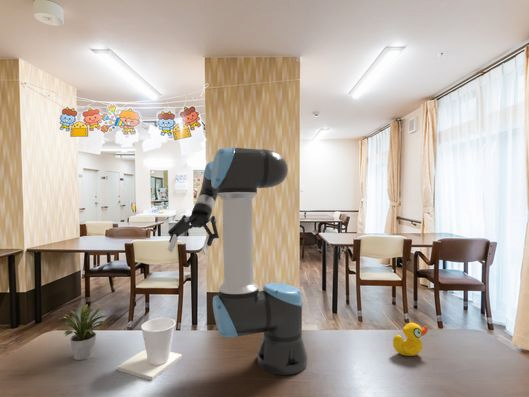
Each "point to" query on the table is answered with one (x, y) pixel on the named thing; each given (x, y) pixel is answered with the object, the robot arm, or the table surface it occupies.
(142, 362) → the placemat
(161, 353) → the cup
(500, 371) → the table surface
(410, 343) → the duckling
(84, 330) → the house plant
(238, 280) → the robot arm
